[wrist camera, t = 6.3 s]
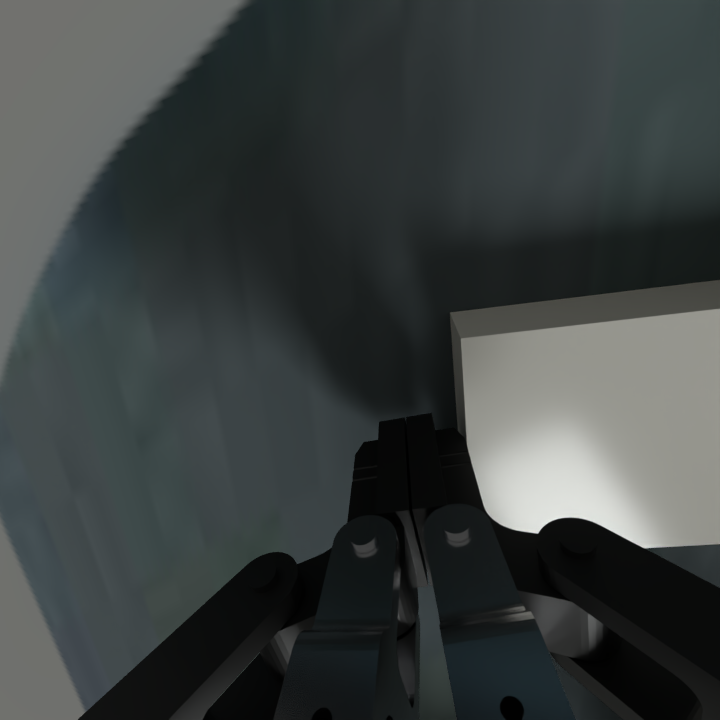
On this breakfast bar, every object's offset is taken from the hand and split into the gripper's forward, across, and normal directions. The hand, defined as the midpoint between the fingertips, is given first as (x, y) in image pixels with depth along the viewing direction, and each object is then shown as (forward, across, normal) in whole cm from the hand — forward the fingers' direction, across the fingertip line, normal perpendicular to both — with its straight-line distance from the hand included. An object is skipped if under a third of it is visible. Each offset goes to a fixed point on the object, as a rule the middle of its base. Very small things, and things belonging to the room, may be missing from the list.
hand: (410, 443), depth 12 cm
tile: (+2, -6, +1) cm, 7 cm away
